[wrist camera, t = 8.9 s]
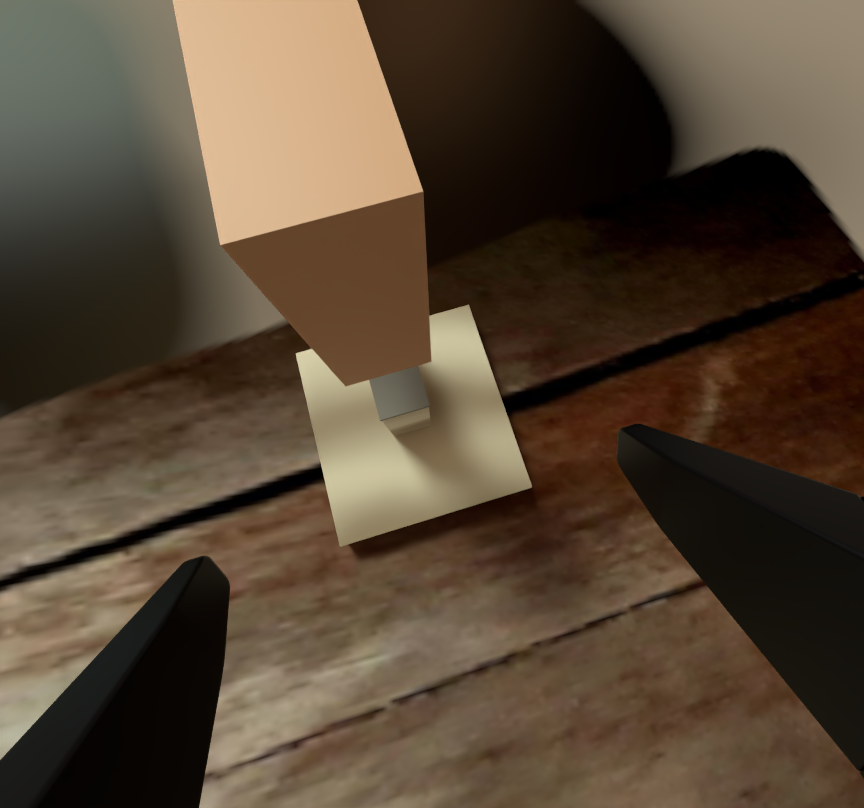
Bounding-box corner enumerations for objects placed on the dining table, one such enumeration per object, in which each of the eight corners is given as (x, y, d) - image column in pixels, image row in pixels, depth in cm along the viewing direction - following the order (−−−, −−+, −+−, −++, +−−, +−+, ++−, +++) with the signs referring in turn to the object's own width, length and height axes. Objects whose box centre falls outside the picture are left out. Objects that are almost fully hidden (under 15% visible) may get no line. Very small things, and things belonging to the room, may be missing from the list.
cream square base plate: (525, 487, 21) (562, 486, 15) (347, 542, 20) (308, 565, 14) (466, 316, 23) (476, 254, 17) (305, 362, 22) (255, 315, 16)
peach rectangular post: (431, 361, 10) (422, 190, 4) (345, 386, 10) (219, 245, 4) (383, 209, 11) (326, -88, 6) (305, 230, 11) (163, -51, 5)
